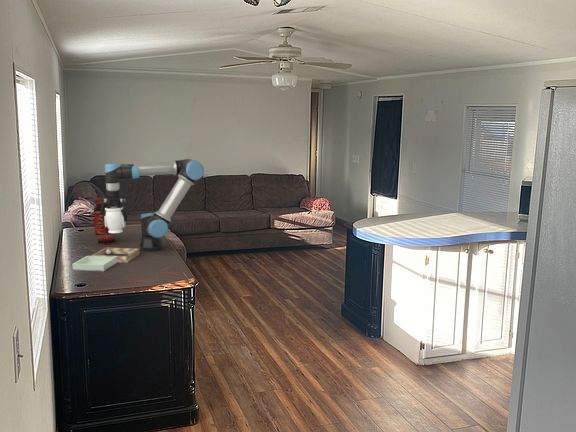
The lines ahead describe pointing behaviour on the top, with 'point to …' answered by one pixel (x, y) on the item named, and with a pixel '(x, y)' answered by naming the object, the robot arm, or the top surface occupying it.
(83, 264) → the bin
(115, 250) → the bin
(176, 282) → the top surface
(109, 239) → the vase
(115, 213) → the jar
